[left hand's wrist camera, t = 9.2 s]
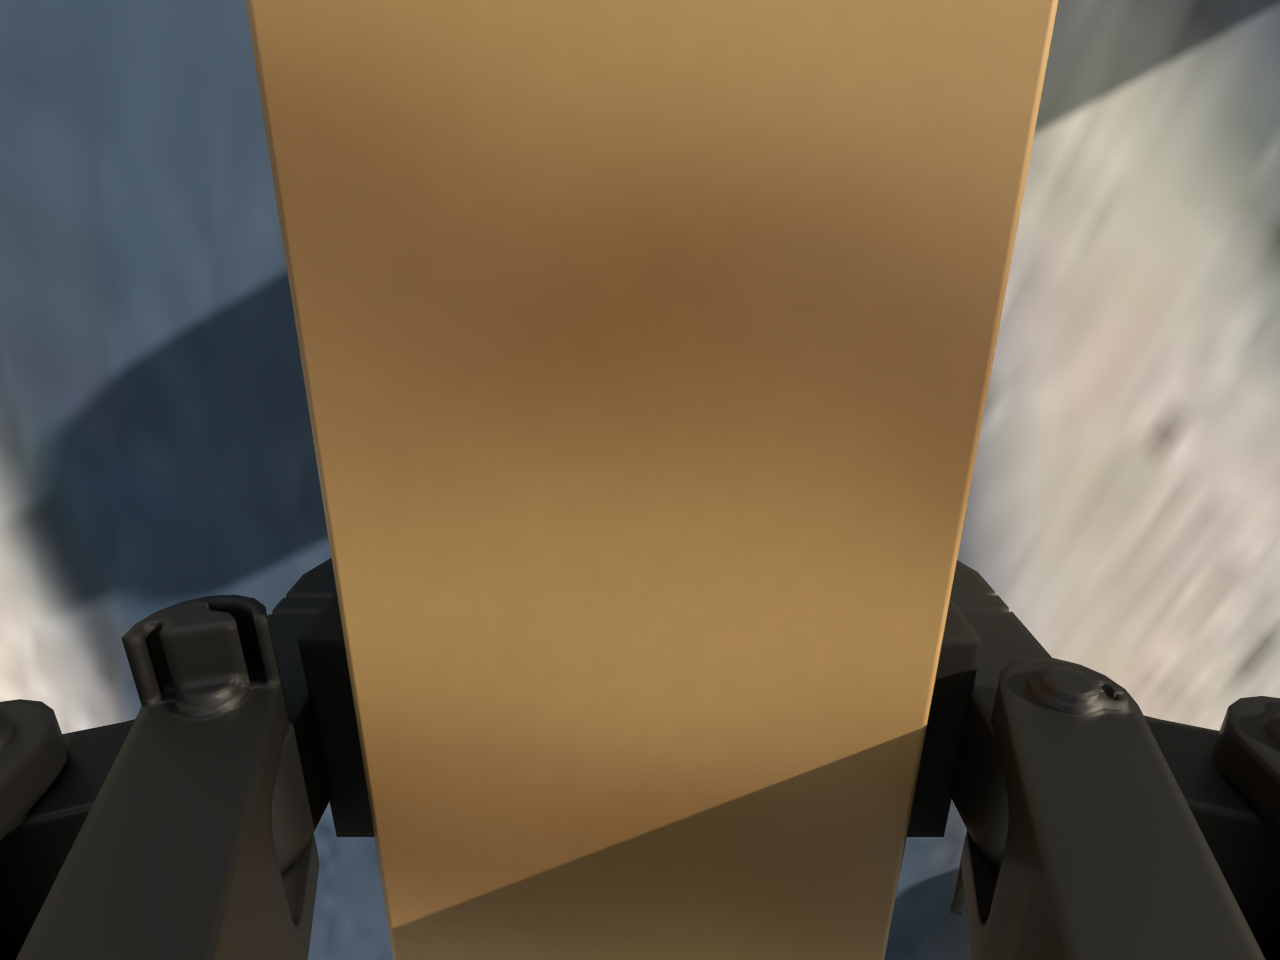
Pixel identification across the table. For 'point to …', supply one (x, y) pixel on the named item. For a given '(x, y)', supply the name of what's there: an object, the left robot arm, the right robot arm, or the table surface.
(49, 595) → the table surface
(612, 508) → the post
